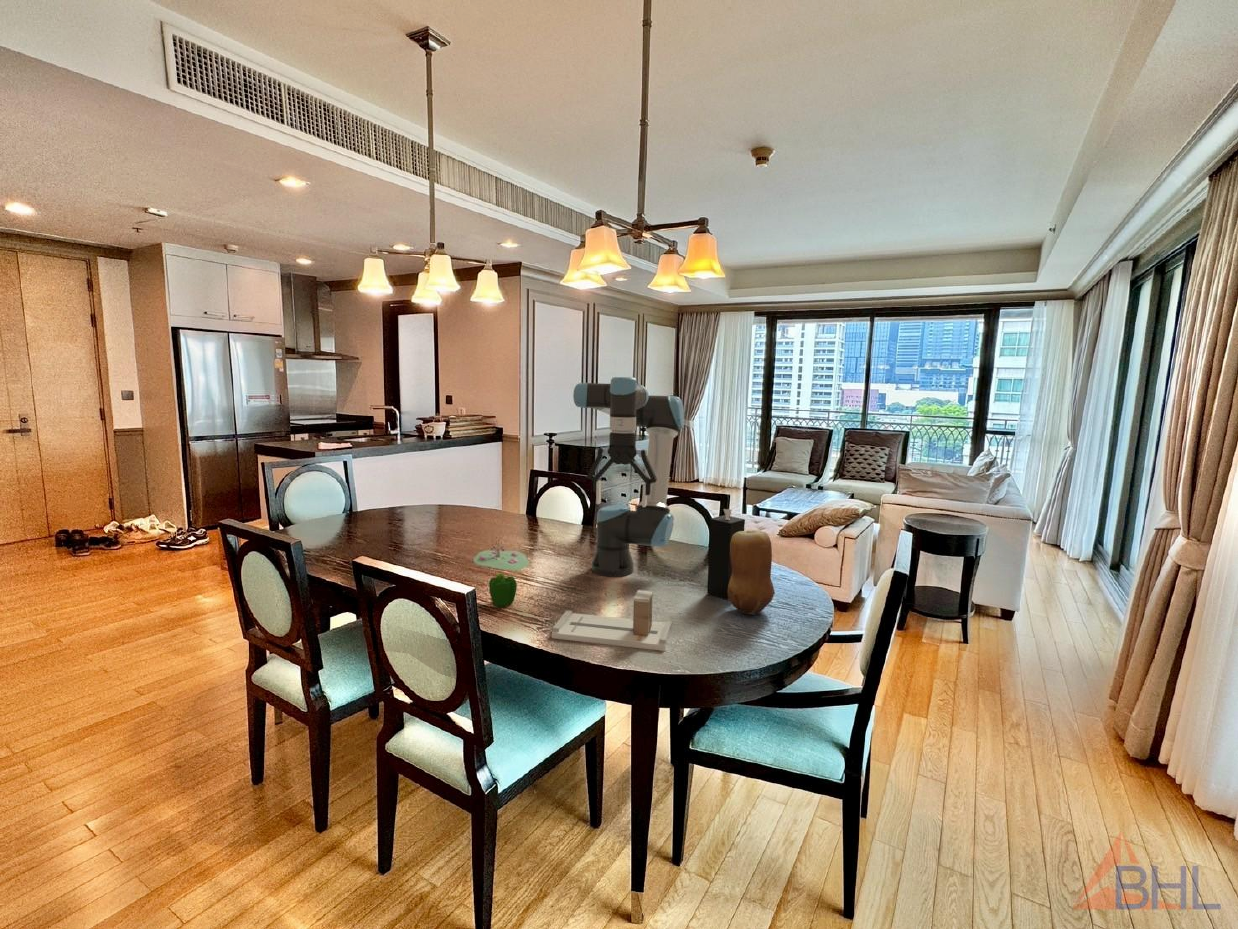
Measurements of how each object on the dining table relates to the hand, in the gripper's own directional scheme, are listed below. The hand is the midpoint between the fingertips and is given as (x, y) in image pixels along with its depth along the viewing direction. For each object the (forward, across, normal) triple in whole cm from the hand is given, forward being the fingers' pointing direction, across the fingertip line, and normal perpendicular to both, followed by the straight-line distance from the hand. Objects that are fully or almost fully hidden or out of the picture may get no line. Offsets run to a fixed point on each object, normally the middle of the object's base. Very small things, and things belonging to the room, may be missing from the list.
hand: (621, 504), depth 172 cm
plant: (+32, -51, +35) cm, 70 cm away
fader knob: (+30, +10, -17) cm, 36 cm away
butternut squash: (+32, +38, +7) cm, 50 cm away
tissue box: (+32, +30, +21) cm, 49 cm away
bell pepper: (+32, -35, -5) cm, 48 cm away
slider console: (+32, +2, -17) cm, 36 cm away
